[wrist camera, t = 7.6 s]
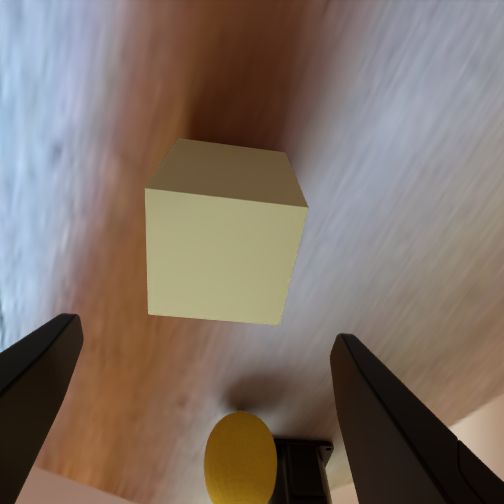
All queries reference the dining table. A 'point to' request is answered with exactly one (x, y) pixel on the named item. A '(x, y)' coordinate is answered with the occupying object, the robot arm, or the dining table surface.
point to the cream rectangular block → (222, 232)
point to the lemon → (240, 461)
